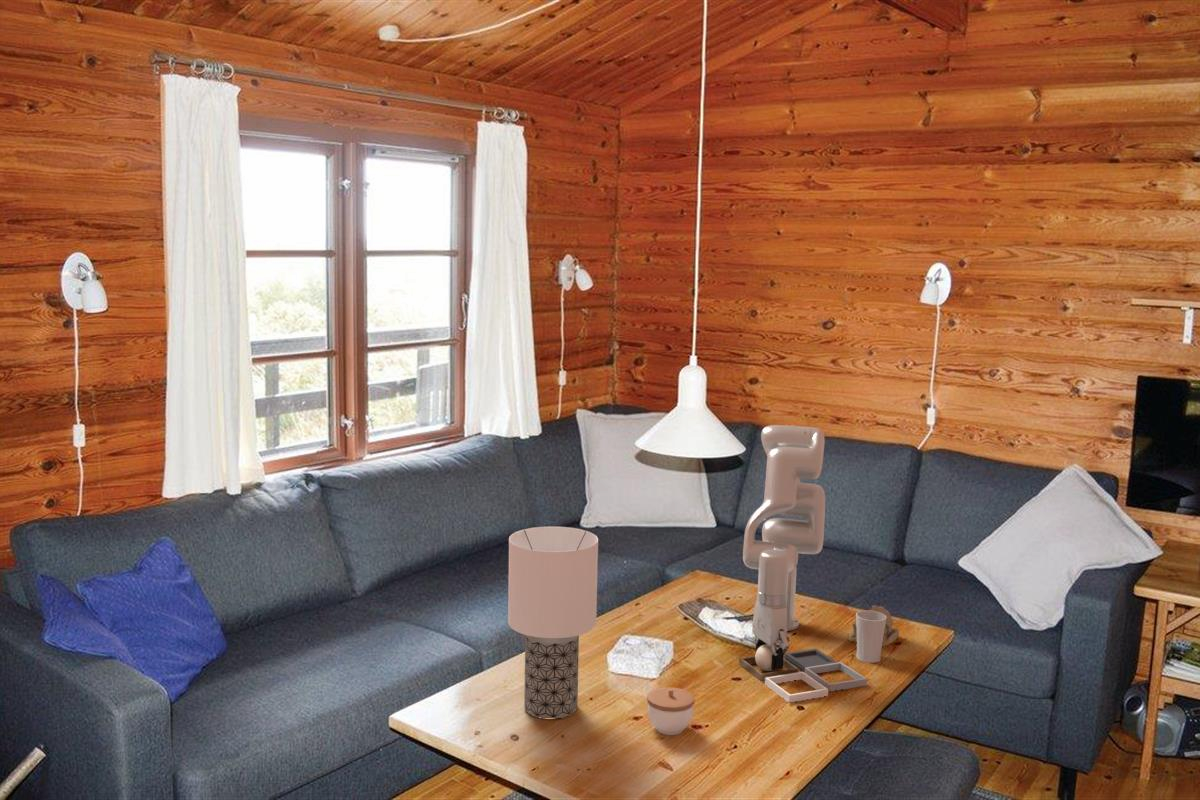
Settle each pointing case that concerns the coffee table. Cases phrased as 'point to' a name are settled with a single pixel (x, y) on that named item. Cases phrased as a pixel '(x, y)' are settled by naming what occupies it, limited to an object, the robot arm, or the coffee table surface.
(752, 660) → the walnut frame
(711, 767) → the coffee table surface
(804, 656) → the dark grey tray
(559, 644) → the lamp
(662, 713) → the lidded jar
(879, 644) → the cup
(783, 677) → the white frame
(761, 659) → the beige ball
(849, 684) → the grey frame
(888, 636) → the ceramic model
